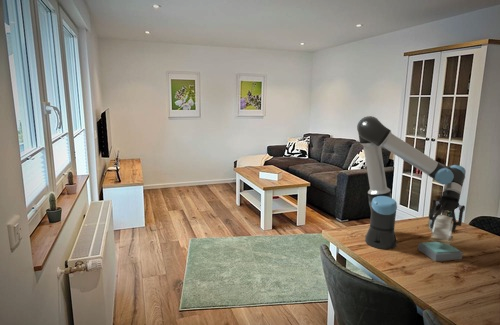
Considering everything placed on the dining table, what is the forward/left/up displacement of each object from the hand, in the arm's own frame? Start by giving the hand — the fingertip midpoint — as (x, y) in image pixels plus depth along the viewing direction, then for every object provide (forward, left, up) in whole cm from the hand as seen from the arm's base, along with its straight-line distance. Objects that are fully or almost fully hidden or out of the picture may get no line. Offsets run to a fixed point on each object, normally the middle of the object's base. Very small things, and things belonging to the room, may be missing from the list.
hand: (441, 235), depth 153 cm
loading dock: (+3, +2, -11) cm, 12 cm away
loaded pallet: (+3, +2, -4) cm, 5 cm away
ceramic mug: (+24, +31, -11) cm, 41 cm away
